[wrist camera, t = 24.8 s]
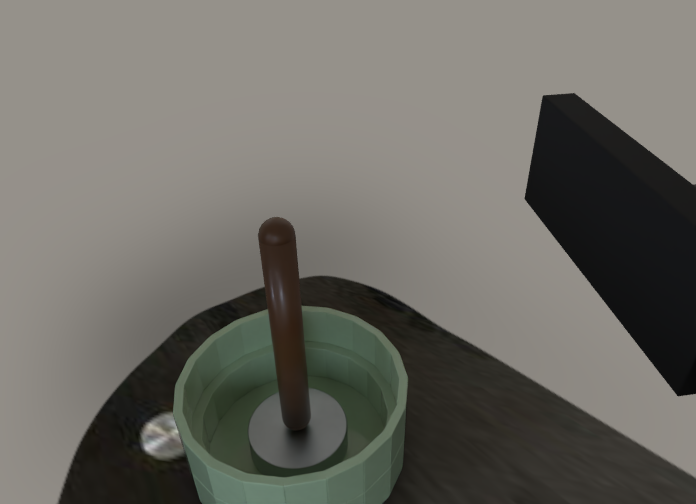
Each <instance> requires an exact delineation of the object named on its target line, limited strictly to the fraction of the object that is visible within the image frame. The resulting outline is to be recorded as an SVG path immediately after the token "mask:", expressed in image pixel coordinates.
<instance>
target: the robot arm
mask: <svg viewBox="0 0 696 504" xmlns="http://www.w3.org/2000/svg"><path fill="white" fill-rule="evenodd" d="M525 200H526V201H527V203H528V204H529V205H530V206H531V208H532V209H533V210H534V212H535V213H536V214H537V215H538V217H539V218H540V219H541V221H542V222H543V223H544V224H545V226H546V227H547V228H548V230H549V231H550V232H551V233H552V235H553V236H554V237H555V239H556V240H557V241H558V243H559V244H560V245H561V246H562V248H563V249H564V250H565V252H566V253H567V254H568V255H569V257H570V258H571V259H572V261H573V262H574V263H575V264H576V266H577V267H578V268H579V270H580V271H581V272H582V273H583V275H584V276H585V277H586V278H587V280H588V281H589V282H590V283H591V285H592V286H593V288H594V289H595V290H596V291H597V293H598V294H599V295H600V297H601V298H602V299H603V300H604V302H605V303H606V304H607V306H608V307H609V308H610V310H611V311H612V312H613V313H614V315H615V316H616V317H617V319H618V320H619V321H620V322H621V324H622V325H623V326H624V328H625V329H626V330H627V331H628V333H629V334H630V335H631V337H632V338H633V339H634V340H635V342H636V343H637V344H638V346H639V347H640V348H641V349H642V351H643V352H644V353H645V355H646V356H647V357H648V358H649V360H650V361H651V362H652V363H653V365H654V366H655V367H656V369H657V370H658V371H659V373H660V374H661V375H662V376H663V378H664V379H665V380H666V382H667V383H668V384H669V385H670V387H671V388H672V389H673V391H674V392H675V393H676V394H677V396H683V395H690V394H696V185H692V184H691V183H690V182H689V181H687V180H686V179H685V178H683V177H682V176H681V175H680V174H678V173H677V172H676V171H674V170H673V169H672V168H670V167H669V166H668V165H667V164H665V163H664V162H663V161H661V160H660V159H659V158H658V157H656V156H655V155H654V154H652V153H651V152H650V151H648V150H647V149H646V148H645V147H643V146H642V145H641V144H639V143H638V142H637V141H636V140H634V139H633V138H631V137H630V136H629V135H628V134H626V133H625V132H624V131H622V130H621V129H620V128H619V127H617V126H616V125H615V124H613V123H612V122H611V121H610V120H608V119H607V118H606V117H604V116H603V115H602V114H601V113H599V112H598V111H596V110H595V109H594V108H593V107H591V106H590V105H589V104H588V103H586V102H585V101H584V100H582V99H581V98H580V97H578V96H577V95H576V94H574V93H573V94H572V93H571V94H557V95H544V96H543V98H542V104H541V109H540V115H539V121H538V126H537V132H536V138H535V143H534V148H533V155H532V160H531V165H530V171H529V177H528V183H527V188H526V194H525Z"/></svg>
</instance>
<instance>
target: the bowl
mask: <svg viewBox="0 0 696 504" xmlns="http://www.w3.org/2000/svg"><path fill="white" fill-rule="evenodd" d="M302 317H303V329H304V340H305V352H306V363H307V375H308V386H309V388H313V389H317V390H321V391H323V392H325V393H327V394H329V395H331V396H332V397H333V398H335V399H336V400H337V401H338V402H339V404H340V405H341V406H342V408H343V410H344V412H345V414H346V418H347V430H348V446H347V451H346V454H345V456H344V459H343V460H342V462H341V463H339V464H337V465H335V466H333V467H331V468H328V469H326V470H324V471H319V472H314V473H308V474H302V475H296V476H290V477H276V476H267V475H263V474H262V473H261V472H260V471H259V470H258V469H257V467H256V466H255V464H254V462H253V459H252V456H251V450H250V445H249V440H248V424H249V421H250V418H251V416H252V414H253V412H254V411H255V409H256V408H257V407H258V406H259V405H260V404H261V403H262V402H263V401H264V400H265V399H267V398H268V397H270V396H271V395H273V394H275V393H277V392H279V390H278V383H277V375H276V368H275V360H274V352H273V345H272V337H271V330H270V322H269V314H268V309H267V310H264V311H261V312H258V313H255V314H252V315H249V316H246V317H244V318H241V319H238V320H237V321H236V320H235V321H234V322H232V323H231V324H229V325H227V326H226V327H224V328H222V329H221V330H219V331H218V332H216V333H214V334H213V335H211V336H210V337H209V338H208V339H207V340H206V341H205V342H204V343H203V344H202V345H201V346H200V347H199V348H198V349H197V350H196V351H195V352H194V353H193V354H192V355H191V356H190V357H189V359H188V360H187V362H186V364H185V367H184V369H183V371H182V373H181V375H180V377H179V379H178V381H177V383H176V385H175V395H174V407H173V416H174V419H175V423H176V426H177V429H178V433H179V436H180V439H181V443H182V446H183V450H184V453H185V456H186V460H187V463H188V467H189V470H190V473H191V476H192V479H193V482H194V485H195V487H196V490H197V493H198V496H199V499H200V501H201V503H202V504H382V503H383V502H384V501H385V500H386V499H387V498H388V497H389V495H390V494H391V492H392V489H393V487H394V485H395V483H396V481H397V479H398V476H399V474H400V472H401V470H402V466H403V458H404V443H405V426H406V409H407V391H408V376H407V373H406V371H405V368H404V365H403V362H402V359H401V356H400V353H399V352H398V351H397V349H396V348H395V347H394V346H393V345H392V344H391V342H390V341H389V340H388V339H387V338H386V337H385V335H384V334H383V333H382V332H381V331H380V330H378V329H376V328H375V327H373V326H371V325H370V324H368V323H367V322H365V321H363V320H362V319H360V318H359V317H356V316H354V315H350V314H347V313H344V312H341V311H337V310H334V309H331V308H324V307H311V306H302Z"/></svg>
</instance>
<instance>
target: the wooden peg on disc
mask: <svg viewBox="0 0 696 504" xmlns="http://www.w3.org/2000/svg"><path fill="white" fill-rule="evenodd" d="M258 238H259V246H260V254H261V261H262V269H263V276H264V284H265V292H266V299H267V307H268V314H269V322H270V330H271V337H272V345H273V352H274V360H275V368H276V375H277V383H278V390H279V392H277V393H275V394H273V395H271V396H270V397H268V398H267V399H265V400H264V401H263V402H262V403H261V404H260V405H259V406H258V407H257V408H256V409H255V411H254V412H253V414H252V416H251V418H250V421H249V424H248V440H249V445H250V450H251V456H252V459H253V462H254V464H255V466H256V467H257V469H258V470H259V471H260V472H261V473H262V474H263V475H267V476H276V477H290V476H296V475H302V474H308V473H314V472H319V471H324V470H326V469H328V468H331V467H333V466H335V465H337V464H339V463H341V462H342V460H343V459H344V456H345V454H346V451H347V446H348V430H347V418H346V414H345V412H344V410H343V408H342V406H341V405H340V404H339V402H338V401H337V400H336V399H335V398H333V397H332V396H331V395H329V394H327V393H325V392H323V391H321V390H317V389H313V388H309V386H308V375H307V363H306V352H305V340H304V329H303V317H302V306H301V294H300V283H299V272H298V261H297V249H296V237H295V231H294V228H293V226H292V225H291V223H290V222H289V221H287V220H286V219H283V218H280V217H273V218H270V219H268V220H266V221H265V222H264V223H263V224H262V225H261V227H260V229H259V233H258Z"/></svg>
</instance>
